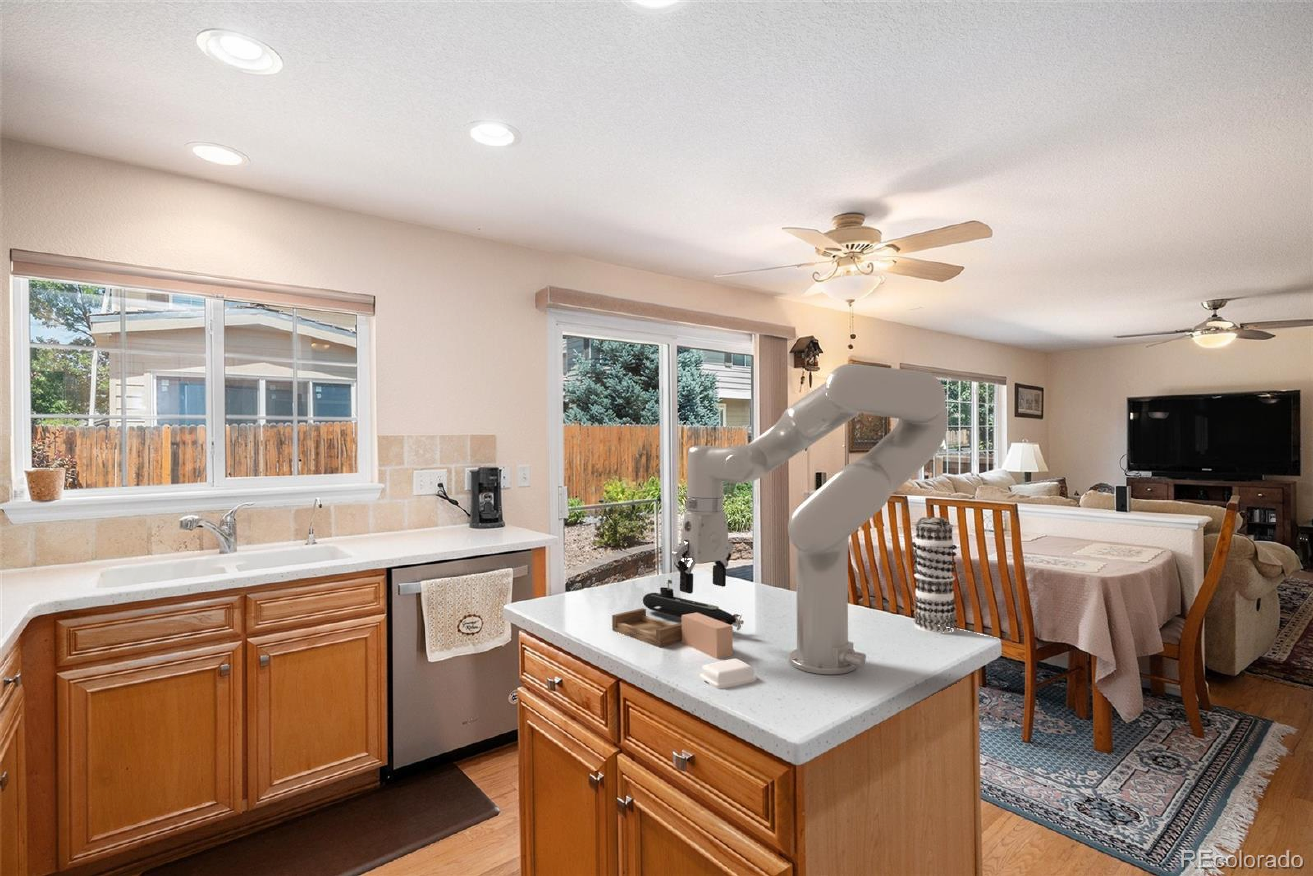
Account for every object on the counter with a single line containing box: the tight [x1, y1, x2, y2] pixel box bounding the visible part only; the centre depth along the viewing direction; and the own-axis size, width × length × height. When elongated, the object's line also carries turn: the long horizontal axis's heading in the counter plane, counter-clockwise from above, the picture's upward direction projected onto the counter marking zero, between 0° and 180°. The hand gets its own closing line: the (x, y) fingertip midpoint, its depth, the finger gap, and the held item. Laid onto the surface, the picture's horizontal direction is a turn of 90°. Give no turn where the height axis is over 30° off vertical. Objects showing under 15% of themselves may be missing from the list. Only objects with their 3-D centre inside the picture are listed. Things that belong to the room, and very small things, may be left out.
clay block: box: [681, 613, 734, 660], centre depth 130 cm, size 12×4×6 cm, turn 32°
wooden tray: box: [611, 607, 682, 648], centre depth 140 cm, size 16×9×4 cm, turn 42°
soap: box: [698, 658, 757, 690], centre depth 114 cm, size 9×7×3 cm
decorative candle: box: [911, 516, 958, 634], centre depth 143 cm, size 9×9×25 cm
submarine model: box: [642, 579, 745, 631], centre depth 148 cm, size 31×7×10 cm, turn 43°
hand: (703, 588), depth 131 cm, fingers open, 9 cm apart
